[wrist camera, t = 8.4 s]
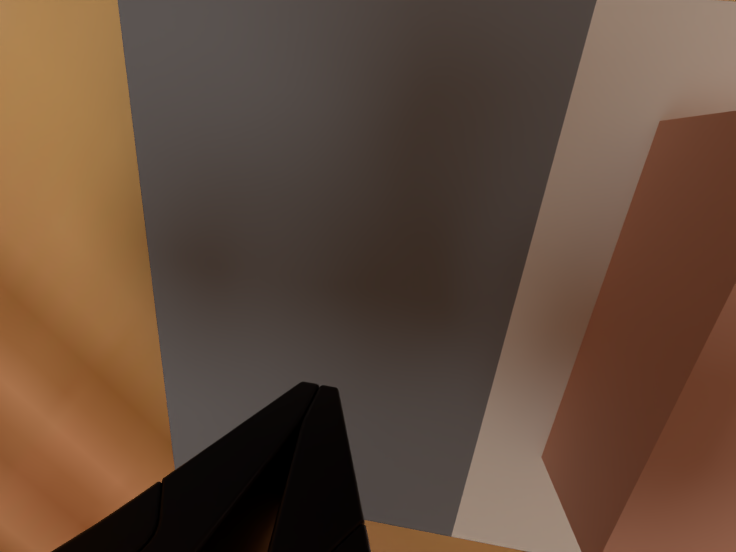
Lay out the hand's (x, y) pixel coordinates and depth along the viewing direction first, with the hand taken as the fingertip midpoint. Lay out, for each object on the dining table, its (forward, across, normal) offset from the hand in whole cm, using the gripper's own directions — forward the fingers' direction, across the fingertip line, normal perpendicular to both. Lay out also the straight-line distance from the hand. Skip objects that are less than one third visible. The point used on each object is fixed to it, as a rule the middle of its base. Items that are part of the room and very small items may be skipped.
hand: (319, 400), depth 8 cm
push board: (+6, -7, 0) cm, 9 cm away
